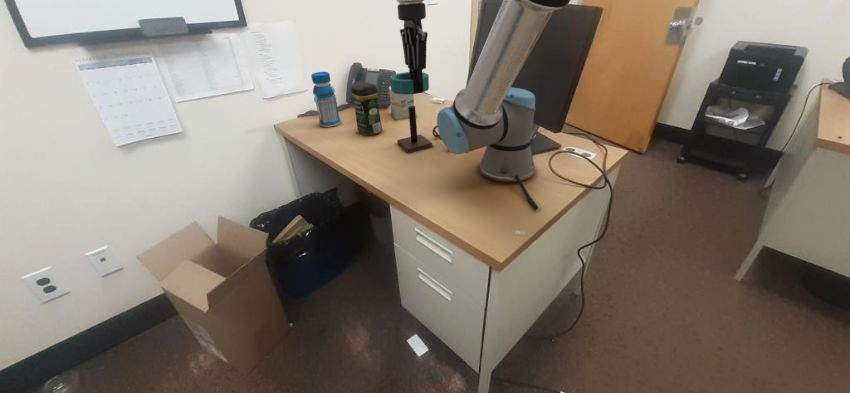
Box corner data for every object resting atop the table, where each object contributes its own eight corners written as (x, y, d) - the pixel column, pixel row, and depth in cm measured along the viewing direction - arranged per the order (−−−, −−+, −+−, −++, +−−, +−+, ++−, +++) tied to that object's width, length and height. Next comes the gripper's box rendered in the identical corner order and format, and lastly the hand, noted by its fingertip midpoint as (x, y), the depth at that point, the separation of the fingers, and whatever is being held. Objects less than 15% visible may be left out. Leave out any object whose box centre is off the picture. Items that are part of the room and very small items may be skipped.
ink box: (390, 113, 149) (387, 86, 142) (409, 111, 151) (407, 83, 144) (395, 120, 142) (392, 91, 135) (415, 117, 144) (413, 88, 137)
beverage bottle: (330, 128, 137) (319, 76, 127) (315, 125, 141) (303, 75, 131) (345, 122, 143) (336, 71, 133) (330, 119, 147) (320, 70, 136)
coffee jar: (354, 131, 133) (346, 82, 123) (372, 126, 137) (365, 77, 128) (367, 138, 127) (359, 86, 117) (385, 132, 131) (379, 82, 121)
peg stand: (432, 147, 117) (430, 107, 110) (408, 153, 114) (404, 113, 107) (420, 138, 124) (418, 100, 117) (397, 143, 121) (393, 105, 114)
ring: (435, 90, 106) (434, 76, 104) (400, 96, 102) (399, 83, 100) (419, 82, 115) (418, 70, 113) (386, 88, 111) (385, 75, 109)
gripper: (436, 2, 88) (439, 95, 100) (412, 1, 99) (417, 84, 112) (409, 4, 85) (416, 99, 98) (387, 3, 97) (396, 88, 109)
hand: (417, 91), depth 105 cm, fingers closed on ring, 2 cm apart
